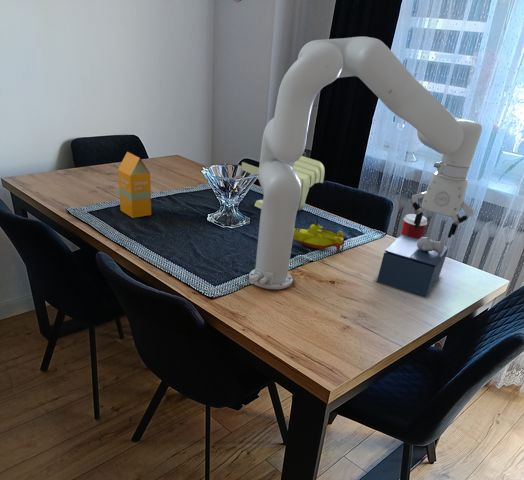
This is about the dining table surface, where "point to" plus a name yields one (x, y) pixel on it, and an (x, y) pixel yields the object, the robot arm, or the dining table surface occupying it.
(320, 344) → the dining table surface
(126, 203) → the orange juice
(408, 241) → the flap
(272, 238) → the robot arm
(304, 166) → the slatted curved stool
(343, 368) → the dining table surface
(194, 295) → the dining table surface
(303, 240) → the toy boat
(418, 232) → the paper cup
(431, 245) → the pale two-lobed sculpture
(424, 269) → the carton
